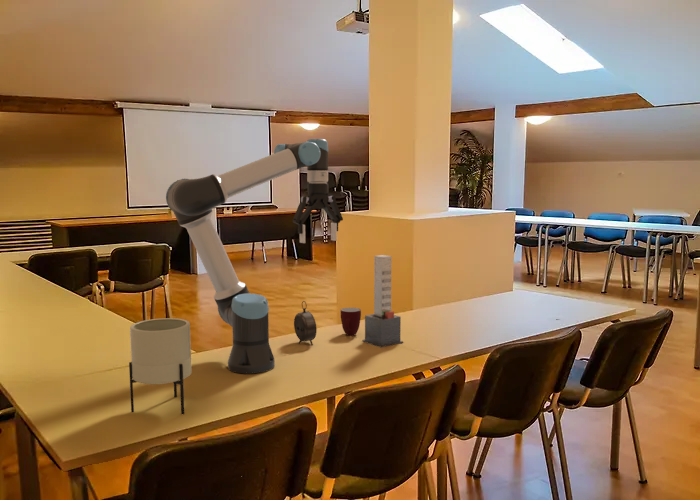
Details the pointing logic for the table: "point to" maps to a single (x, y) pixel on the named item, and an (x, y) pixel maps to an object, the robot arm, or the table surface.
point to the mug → (350, 320)
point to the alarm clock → (305, 326)
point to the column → (382, 285)
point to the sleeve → (382, 330)
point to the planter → (160, 353)
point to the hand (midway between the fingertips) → (318, 241)
